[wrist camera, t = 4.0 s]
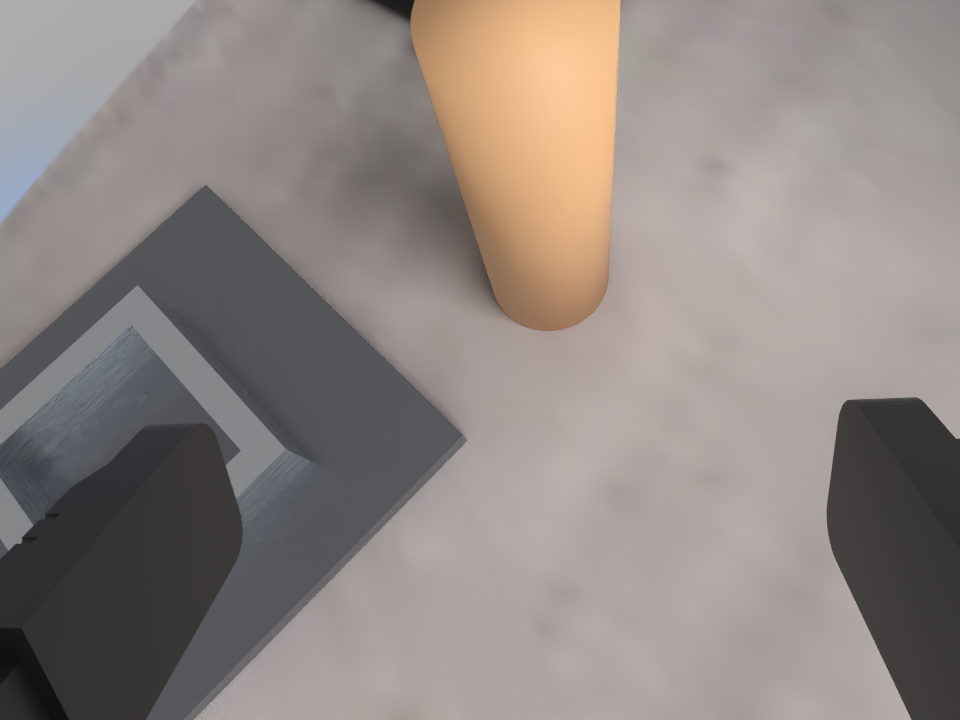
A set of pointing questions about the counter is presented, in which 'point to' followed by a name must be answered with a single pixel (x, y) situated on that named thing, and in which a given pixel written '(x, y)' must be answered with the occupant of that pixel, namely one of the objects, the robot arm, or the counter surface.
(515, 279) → the post
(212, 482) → the robot arm
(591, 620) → the counter surface
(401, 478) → the mounting plate
